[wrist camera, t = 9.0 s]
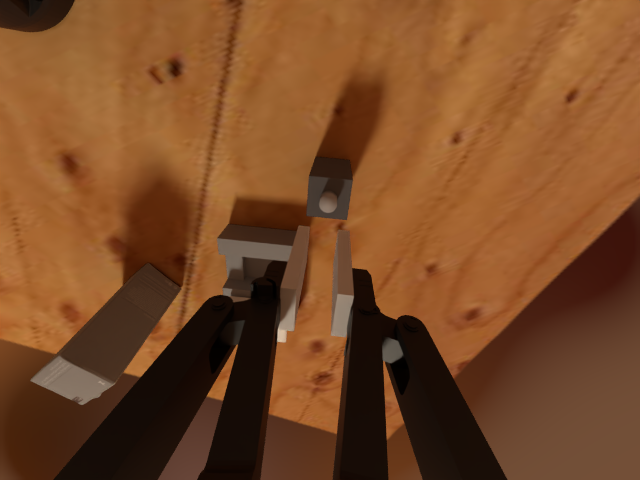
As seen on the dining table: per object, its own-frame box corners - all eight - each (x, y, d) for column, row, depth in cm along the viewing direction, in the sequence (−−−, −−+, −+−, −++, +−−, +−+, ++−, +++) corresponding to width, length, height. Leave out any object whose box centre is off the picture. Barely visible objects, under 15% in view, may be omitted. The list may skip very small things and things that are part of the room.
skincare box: (149, 260, 41) (52, 349, 27) (187, 291, 44) (116, 386, 30) (119, 287, 44) (19, 379, 30) (157, 314, 46) (79, 411, 33)
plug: (315, 156, 32) (307, 180, 24) (349, 160, 32) (353, 185, 24) (313, 189, 34) (304, 222, 26) (345, 192, 34) (347, 226, 26)
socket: (228, 224, 37) (217, 238, 34) (302, 231, 37) (298, 246, 34) (235, 303, 44) (226, 321, 41) (297, 309, 44) (294, 329, 40)
